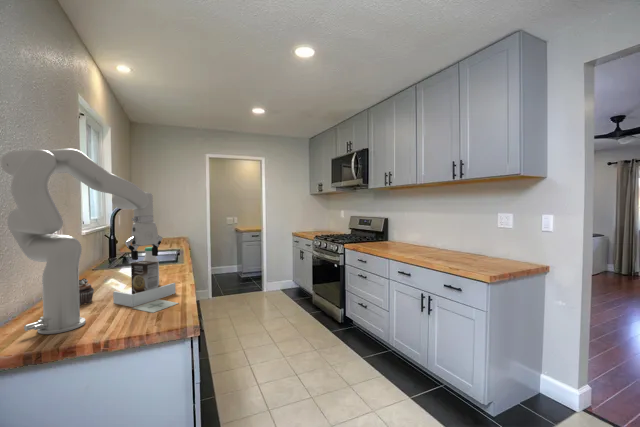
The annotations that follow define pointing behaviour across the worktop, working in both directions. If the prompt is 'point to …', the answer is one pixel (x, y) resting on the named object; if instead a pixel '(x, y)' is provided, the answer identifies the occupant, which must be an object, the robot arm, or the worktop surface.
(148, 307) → the pad
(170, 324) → the worktop surface
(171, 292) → the grey l-shaped block
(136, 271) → the coffee box
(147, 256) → the milk bottle
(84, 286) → the cupcake
